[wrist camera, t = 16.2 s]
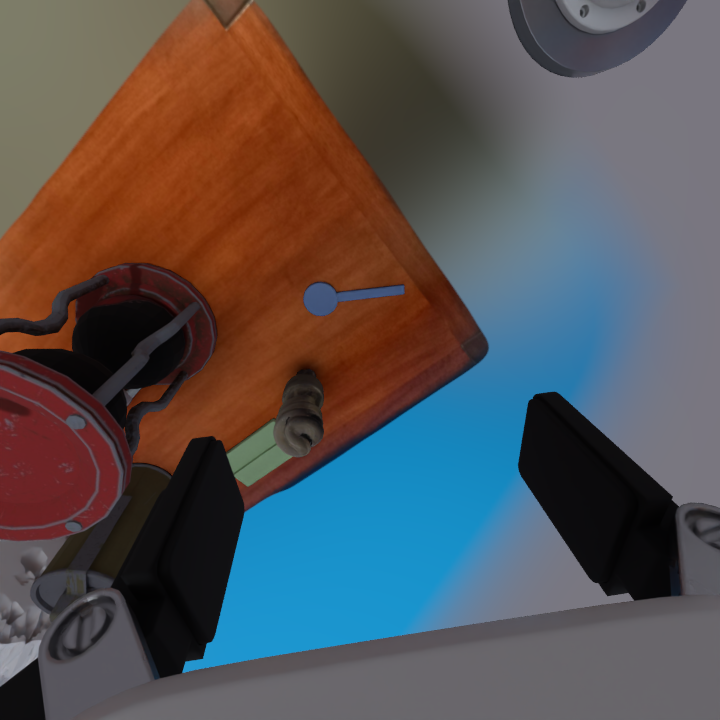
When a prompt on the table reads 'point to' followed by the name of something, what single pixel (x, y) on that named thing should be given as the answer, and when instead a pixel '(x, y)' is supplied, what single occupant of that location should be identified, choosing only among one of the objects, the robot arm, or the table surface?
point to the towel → (256, 455)
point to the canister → (99, 545)
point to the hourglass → (91, 395)
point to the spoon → (341, 296)
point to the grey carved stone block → (22, 602)
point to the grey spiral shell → (300, 415)
